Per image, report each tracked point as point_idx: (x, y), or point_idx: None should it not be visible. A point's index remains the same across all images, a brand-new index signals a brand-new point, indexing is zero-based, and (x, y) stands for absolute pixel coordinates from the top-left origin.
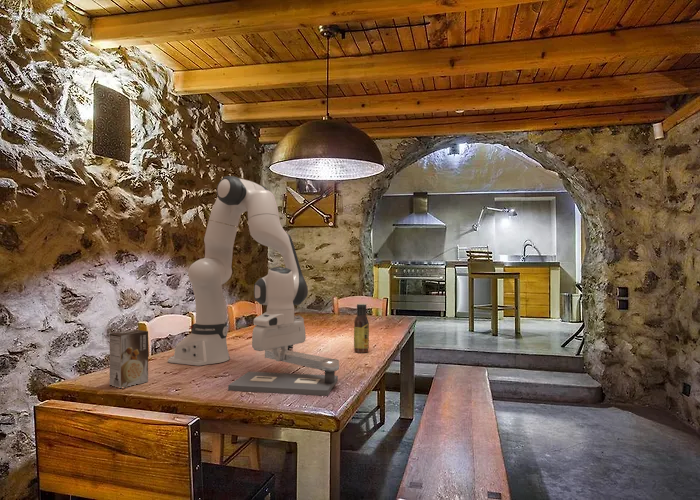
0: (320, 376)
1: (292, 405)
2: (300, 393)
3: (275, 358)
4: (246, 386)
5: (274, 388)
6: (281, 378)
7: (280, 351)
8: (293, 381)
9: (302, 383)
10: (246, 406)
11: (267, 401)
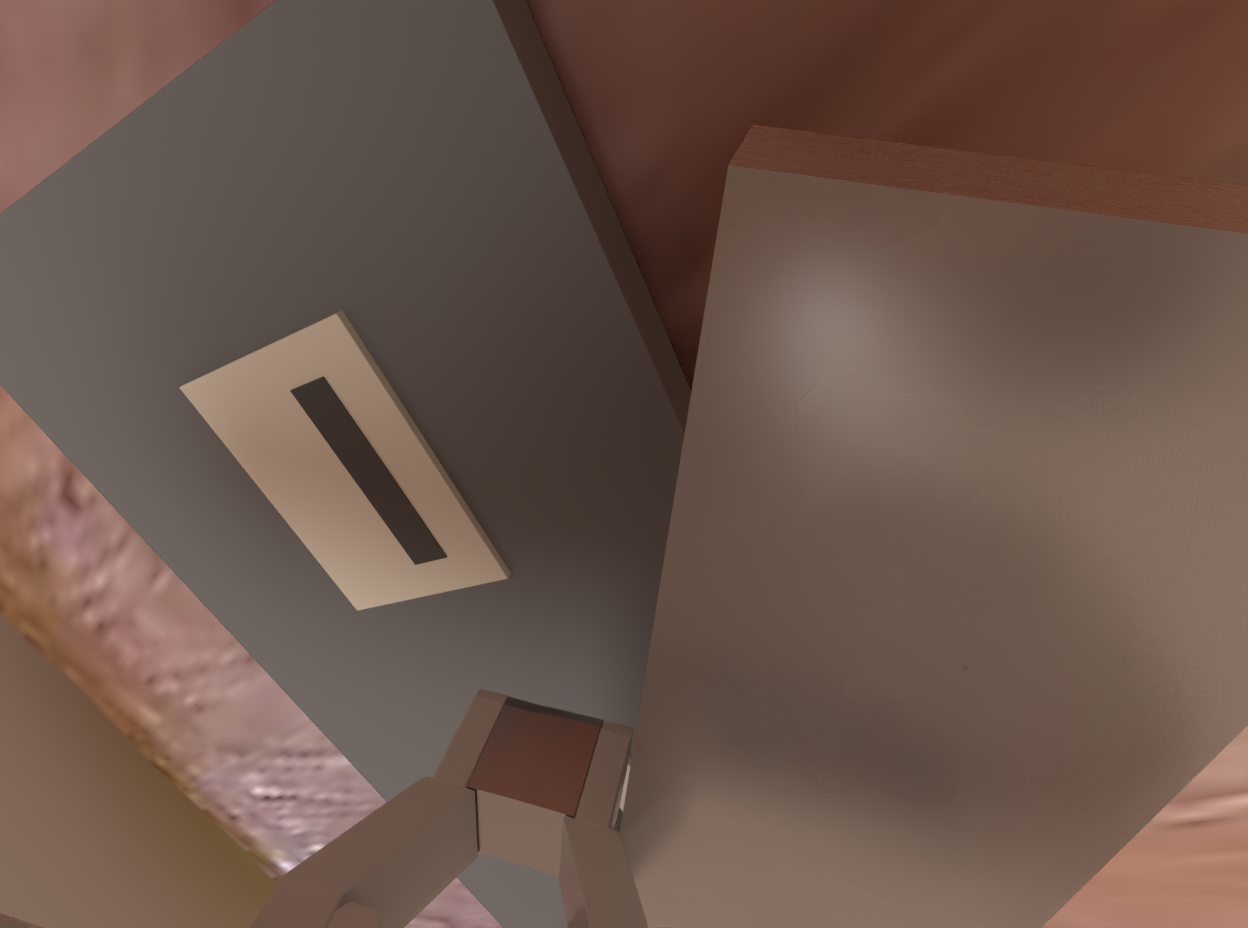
0: None
1: (277, 808)
2: None
3: (464, 720)
4: (91, 478)
5: (291, 686)
6: (518, 629)
7: (814, 763)
8: None
9: None
10: (43, 633)
11: (189, 690)
